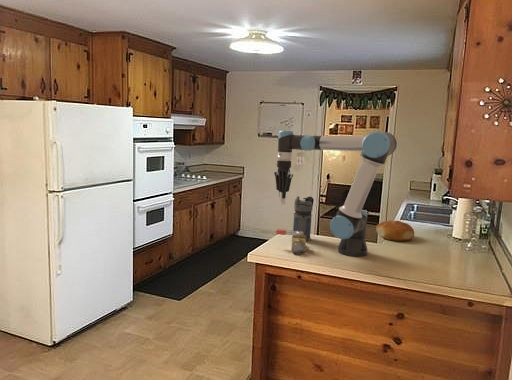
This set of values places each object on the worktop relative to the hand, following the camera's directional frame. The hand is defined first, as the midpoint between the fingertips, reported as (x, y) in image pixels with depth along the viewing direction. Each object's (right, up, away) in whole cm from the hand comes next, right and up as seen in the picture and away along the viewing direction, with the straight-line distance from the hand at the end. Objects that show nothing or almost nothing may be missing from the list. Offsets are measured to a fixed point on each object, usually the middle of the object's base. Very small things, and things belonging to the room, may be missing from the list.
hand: (281, 204), depth 223 cm
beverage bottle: (+13, -21, +18) cm, 30 cm away
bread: (+71, -22, +32) cm, 80 cm away
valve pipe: (+8, -24, -4) cm, 25 cm away
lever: (+4, -16, -5) cm, 17 cm away
